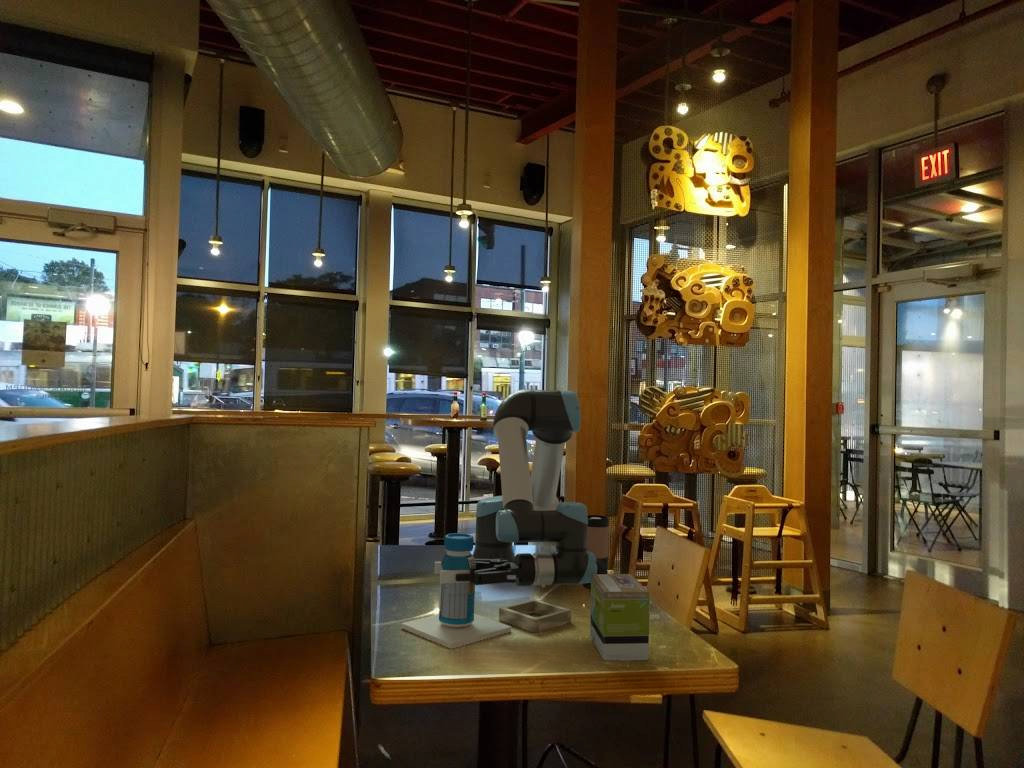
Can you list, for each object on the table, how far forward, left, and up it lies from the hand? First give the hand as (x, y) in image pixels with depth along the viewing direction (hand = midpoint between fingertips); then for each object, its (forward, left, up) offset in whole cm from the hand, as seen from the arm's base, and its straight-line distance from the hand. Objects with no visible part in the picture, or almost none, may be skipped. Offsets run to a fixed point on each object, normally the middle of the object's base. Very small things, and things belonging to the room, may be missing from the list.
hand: (437, 572), depth 164 cm
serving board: (+2, +4, -13) cm, 14 cm away
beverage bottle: (+2, +4, -12) cm, 13 cm away
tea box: (+34, +23, -14) cm, 44 cm away
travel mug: (-4, +62, -14) cm, 64 cm away
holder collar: (+9, +23, -13) cm, 28 cm away
